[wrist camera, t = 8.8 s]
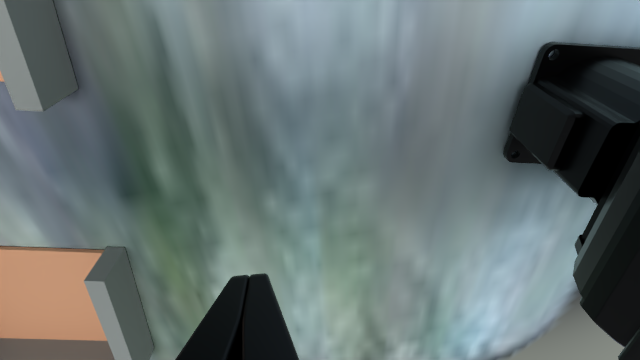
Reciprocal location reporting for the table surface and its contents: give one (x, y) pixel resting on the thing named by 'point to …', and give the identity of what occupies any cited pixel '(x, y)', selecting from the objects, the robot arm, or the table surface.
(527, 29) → the table surface
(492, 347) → the table surface
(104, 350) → the trap lane
